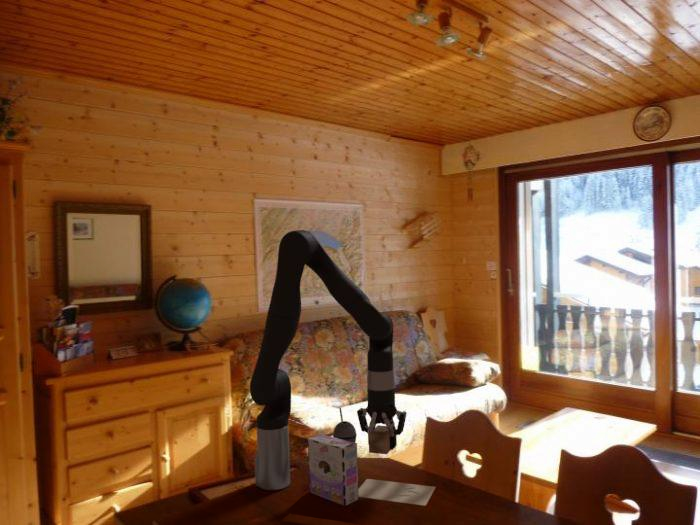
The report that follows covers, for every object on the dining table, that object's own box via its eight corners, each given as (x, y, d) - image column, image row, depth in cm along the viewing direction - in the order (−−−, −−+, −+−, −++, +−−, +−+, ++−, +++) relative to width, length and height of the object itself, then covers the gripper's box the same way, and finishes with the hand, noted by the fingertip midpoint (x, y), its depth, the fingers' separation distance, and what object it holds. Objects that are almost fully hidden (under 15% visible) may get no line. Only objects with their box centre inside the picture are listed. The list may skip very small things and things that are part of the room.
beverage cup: (357, 477, 163) (355, 410, 163) (333, 477, 164) (331, 410, 164) (357, 467, 171) (355, 403, 171) (334, 468, 171) (332, 404, 171)
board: (352, 501, 147) (352, 495, 147) (367, 483, 158) (367, 478, 158) (425, 511, 140) (425, 505, 140) (435, 492, 151) (435, 486, 151)
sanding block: (369, 452, 147) (368, 434, 147) (378, 442, 155) (377, 425, 155) (386, 454, 146) (386, 435, 146) (395, 444, 153) (394, 426, 153)
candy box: (360, 504, 145) (358, 442, 145) (344, 512, 141) (342, 448, 141) (323, 490, 155) (322, 432, 155) (308, 497, 151) (306, 437, 150)
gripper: (351, 387, 149) (353, 450, 149) (402, 390, 144) (404, 455, 144) (360, 381, 156) (362, 441, 156) (409, 384, 151) (411, 446, 151)
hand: (382, 447), depth 150 cm, fingers closed on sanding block, 5 cm apart
